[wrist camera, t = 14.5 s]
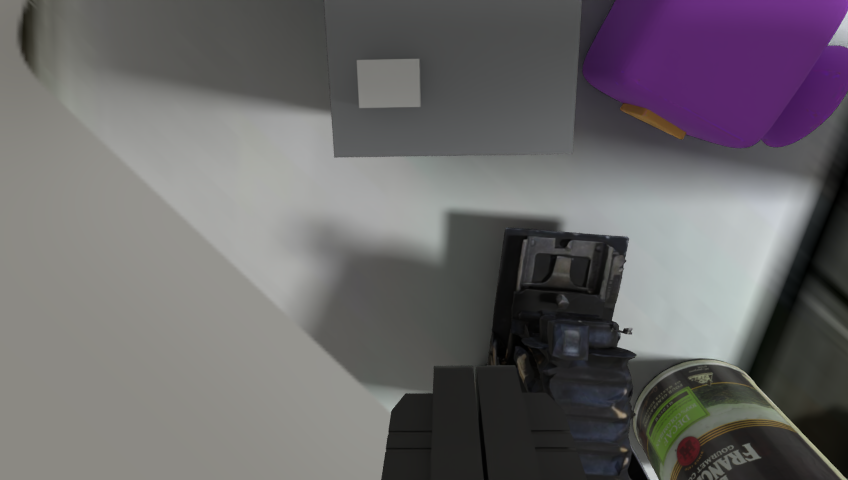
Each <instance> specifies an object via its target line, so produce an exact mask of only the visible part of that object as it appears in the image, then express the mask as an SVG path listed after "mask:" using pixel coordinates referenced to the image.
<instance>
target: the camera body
mask: <svg viewBox="0 0 848 480" xmlns="http://www.w3.org/2000/svg"><path fill="white" fill-rule="evenodd" d="M581 8H582V0H324V11H325V26H326V41H327V56H328V70H329V85H330V100H331V115H332V130H333V145H334V157H390V156H458V155H525V154H573V138H574V122H575V105H576V89H577V73H578V57H579V41H580V24H581Z"/></svg>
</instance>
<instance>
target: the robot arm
mask: <svg viewBox="0 0 848 480" xmlns="http://www.w3.org/2000/svg"><path fill="white" fill-rule="evenodd" d="M381 480H587V478H586V475H585V472H584V469H583V466H582V463H581V460H580V457H579V454H578V452H577V451H576V445H575V442H574V439H573V436H572V434H571V433H570V428H569V425H568V422H567V419H566V416H565V413H564V410H563V409H562V408H561V407H560V406H559V405H558V404H557V403H556V402H555V401H554V400H553V399H552V398H551V397H550V396H549V395H548V394H547V393H522V391H521V387H520V382H519V378H518V374H517V369H516V366H515V365H487V366H476V369H475V383H474V373H473V366H434V380H433V393H426V394H405V395H404V396H403V397H402V398H401V400H400V401H399V402H398V403H397V405H396V406H395V407H394V408H393V410H392V411H391V418H390V425H389V435H388V438H387V445H386V452H385V459H384V466H383V472H382V479H381Z"/></svg>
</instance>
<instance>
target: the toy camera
mask: <svg viewBox="0 0 848 480" xmlns="http://www.w3.org/2000/svg"><path fill="white" fill-rule="evenodd" d="M847 10H848V0H616V1H615V2H614V4H613V6H612V8H611V10H610V12H609V13H608V15H607V17H606V19H605V21H604V23H603V24H602V26H601V28H600V30H599V32H598V34H597V35H596V37H595V39H594V41H593V43H592V45H591V47H590V49H589V51H588V53H587V55H586V58H585V60H584V63H583V75H584V77H585V79H586V80H587V81H588V82H589V83H590V84H591V85H592V86H593V87H595V88H596V89H598V90H600V91H601V92H603V93H605V94H607V95H608V96H610V97H612V98H614V99H616V100H618V101H620V102H621V103H623V104H622V106H621V108H620V110H621V111H623V112H625V113H627V114H629V115H631V116H633V117H635V118H637V119H639V120H641V121H643V122H646V123H648V124H650V125H652V126H654V127H656V128H658V129H660V130H662V131H664V132H666V133H668V134H670V135H672V136H674V137H677V138H679V139H681V140H682V139H683V138H684V136H685V135H689V136H693V137H696V138H699V139H702V140H705V141H709V142H712V143H715V144H719V145H722V146H727V147H733V148H746V147H750V146H753V145H754V144H756V143H757V142H759V141H760V140H762V141H763V142H764V143H765V144H766V145H768V146H771V147H783V146H786V145H789V144H792V143H794V142H796V141H798V140H800V139H802V138H803V137H805V136H807V135H808V134H810V133H811V132H812V131H814V130H815V129H816V128H817V127H818V126H820V125H821V124H822V123H823V122H824V121H825V120H826V119H827V118H828V117H829V116H830V115H831V114H832V113H833V112H834V111H835V109H836V108H837V107H838V105H839V104H840V103H841V101H842V100H843V98H844V97H845V95H846V93H847V91H848V48H846V47H843V46H827V45H828V43H829V42H830V40H831V39H832V37H833V35H834V34H835V32H836V31H837V29H838V27H839V26H840V24H841V22H842V20H843V19H844V17H845V15H846V13H847Z"/></svg>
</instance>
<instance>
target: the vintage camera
mask: <svg viewBox="0 0 848 480" xmlns="http://www.w3.org/2000/svg"><path fill="white" fill-rule="evenodd" d="M628 241H629V238H628V237H623V236H609V235H595V234H582V233H571V232H559V231H547V230H535V229H523V228H509V227H506V229H505V234H504V242H503V249H502V256H501V264H500V271H499V278H498V286H497V293H496V300H495V308H494V317H493V328H492V336H491V341H490V350H489V357H488V364H487V365H515V366H516V369H517V374H518V378H519V382H520V387H521V391H522V393H547V394H548V395H549V396H550V397H551V398H552V399H553V400H554V401H555V402H556V403H557V404H558V405H559V406H560V407H561V408H562V409H563V410H564V413H565V416H566V419H567V422H568V425H569V428H570V433H571V434H572V436H573V439H574V442H575V445H576V451H577V452H578V454H579V457H580V460H581V463H582V466H583V469H584V472H585V475H586V478H587V480H650V479H649V477H648V475H647V473H646V471H645V470H644V468H643V466H642V464H641V462H640V460H639V458H638V457H637V455H636V453H635V451H634V450H633V448H632V446H631V444H630V442H629V438H628V433H629V427H630V419H632V418H633V417H634V416H635V415H636V414H635V413H634V412H633V411H632V410H631V408H632V406H631V404H630V402H629V401H630V398H631V396H632V394H633V385H632V381H631V375H630V372H629V369H628V366H627V364H628V360H629V359H632V358H635V356H636V354H635V353H633V352H631V351H628V350H625V349H622V348H618V347H617V344H618V341H619V339H620V332H621V333H625V334H632V333H631V331H632V329H633V328H624V330H623V331H620V330H619V325H618V324H617V323H616V322H614V321H612V317H613V312H614V308H615V303H616V301H617V297H618V293H619V288H620V284H621V279H622V272H623V269H624V268H623V265H624V263H625V262H626V260H625V256H626V251H627V246H628Z"/></svg>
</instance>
